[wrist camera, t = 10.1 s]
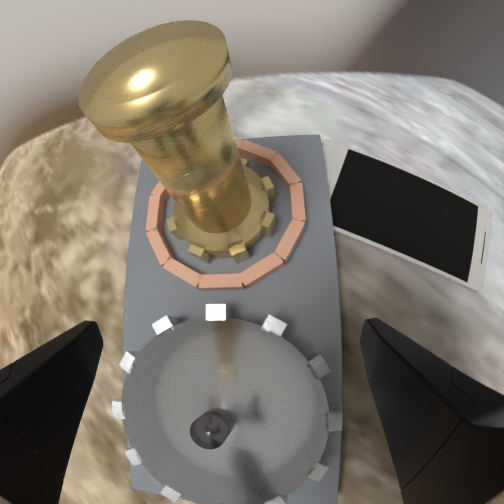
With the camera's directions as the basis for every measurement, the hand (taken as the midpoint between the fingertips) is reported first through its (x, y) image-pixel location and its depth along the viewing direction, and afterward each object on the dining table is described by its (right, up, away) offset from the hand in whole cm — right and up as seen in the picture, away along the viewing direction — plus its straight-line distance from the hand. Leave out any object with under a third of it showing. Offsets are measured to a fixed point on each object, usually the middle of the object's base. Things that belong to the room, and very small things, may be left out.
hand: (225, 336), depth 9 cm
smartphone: (+12, +5, +11) cm, 17 cm away
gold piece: (-1, +5, +11) cm, 12 cm away
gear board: (-1, -2, +10) cm, 10 cm away
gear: (-1, -7, +7) cm, 10 cm away
